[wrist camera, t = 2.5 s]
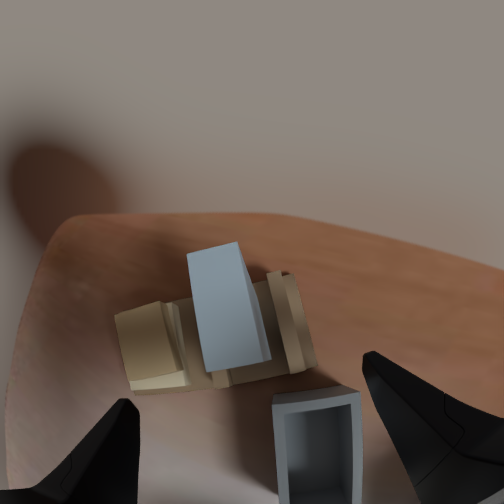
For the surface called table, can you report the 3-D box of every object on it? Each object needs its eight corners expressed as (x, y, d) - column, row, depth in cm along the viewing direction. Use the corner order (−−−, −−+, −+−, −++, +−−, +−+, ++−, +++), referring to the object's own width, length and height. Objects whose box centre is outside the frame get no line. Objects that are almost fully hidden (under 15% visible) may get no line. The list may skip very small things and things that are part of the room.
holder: (346, 487, 13) (360, 513, 9) (281, 497, 14) (280, 526, 10) (342, 384, 17) (360, 391, 13) (273, 394, 17) (271, 404, 13)
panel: (271, 359, 18) (263, 361, 9) (243, 365, 18) (206, 372, 9) (257, 299, 20) (236, 241, 10) (230, 305, 20) (186, 253, 10)
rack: (316, 365, 18) (324, 366, 15) (138, 394, 18) (115, 398, 15) (293, 275, 21) (295, 260, 17) (126, 312, 21) (104, 303, 18)
